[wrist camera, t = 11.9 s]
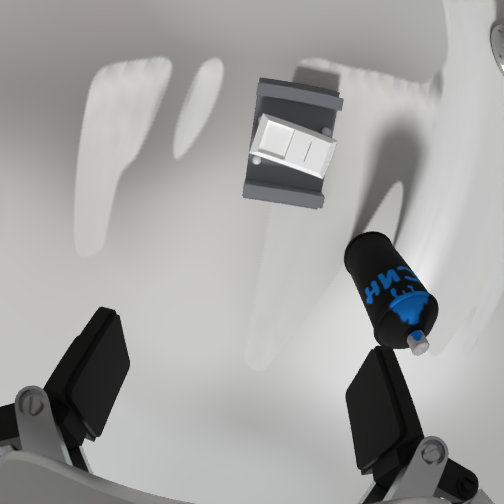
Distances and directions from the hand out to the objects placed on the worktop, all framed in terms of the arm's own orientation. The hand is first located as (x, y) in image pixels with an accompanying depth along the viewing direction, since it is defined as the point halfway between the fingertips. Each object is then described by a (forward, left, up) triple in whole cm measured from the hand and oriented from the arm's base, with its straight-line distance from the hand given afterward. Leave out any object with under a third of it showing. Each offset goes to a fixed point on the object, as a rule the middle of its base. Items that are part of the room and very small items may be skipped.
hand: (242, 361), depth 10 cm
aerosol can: (+9, +18, -31) cm, 37 cm away
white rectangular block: (-5, +3, -28) cm, 28 cm away
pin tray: (-5, +3, -30) cm, 31 cm away
